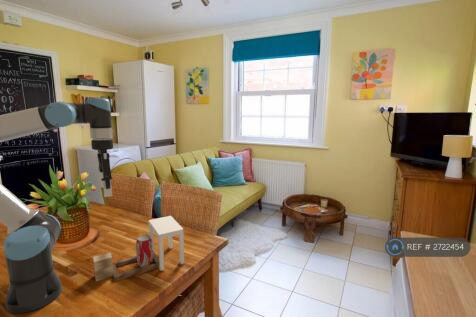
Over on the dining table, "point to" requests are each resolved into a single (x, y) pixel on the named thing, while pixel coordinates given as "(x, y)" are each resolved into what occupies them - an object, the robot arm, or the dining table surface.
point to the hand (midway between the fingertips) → (106, 191)
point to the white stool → (166, 236)
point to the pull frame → (108, 269)
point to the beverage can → (144, 250)
